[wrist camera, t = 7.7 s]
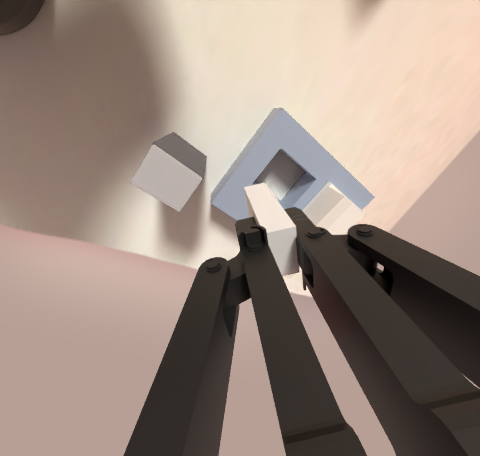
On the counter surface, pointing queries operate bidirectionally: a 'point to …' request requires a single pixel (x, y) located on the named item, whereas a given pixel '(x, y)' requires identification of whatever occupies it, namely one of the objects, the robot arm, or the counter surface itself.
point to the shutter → (333, 210)
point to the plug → (171, 171)
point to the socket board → (299, 151)
